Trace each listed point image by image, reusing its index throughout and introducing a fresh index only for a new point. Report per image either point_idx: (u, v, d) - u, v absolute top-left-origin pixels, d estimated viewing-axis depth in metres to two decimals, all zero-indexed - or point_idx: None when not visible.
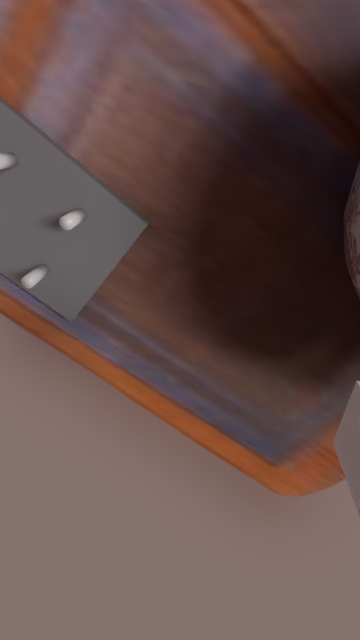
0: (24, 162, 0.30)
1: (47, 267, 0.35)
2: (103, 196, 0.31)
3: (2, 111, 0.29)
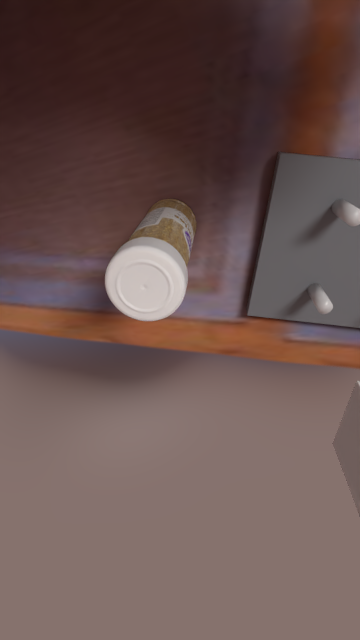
0: (354, 200, 0.27)
1: None
2: None
3: (321, 164, 0.26)
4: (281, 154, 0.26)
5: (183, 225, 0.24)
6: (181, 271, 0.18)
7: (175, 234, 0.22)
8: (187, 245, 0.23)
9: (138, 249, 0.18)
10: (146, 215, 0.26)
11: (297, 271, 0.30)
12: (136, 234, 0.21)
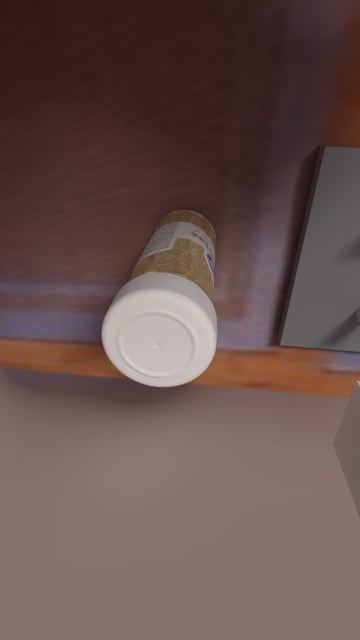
0: None
1: None
2: None
3: None
4: (326, 148, 0.20)
5: (203, 246, 0.19)
6: (210, 322, 0.13)
7: (195, 261, 0.16)
8: (211, 274, 0.17)
9: (147, 294, 0.12)
10: (155, 233, 0.21)
11: (343, 292, 0.24)
12: (143, 265, 0.16)
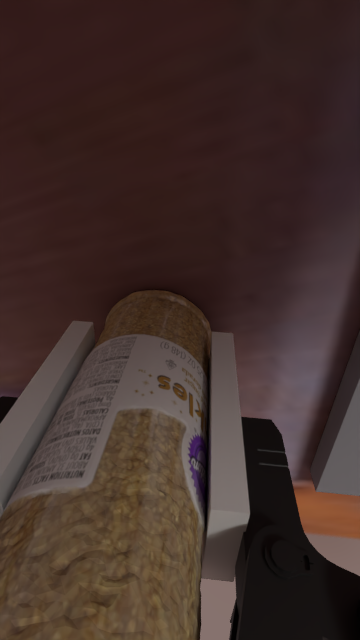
0: None
1: None
2: None
3: None
4: None
5: (183, 416, 0.08)
6: None
7: (152, 531, 0.06)
8: (198, 516, 0.07)
9: None
10: (90, 356, 0.10)
11: None
12: None
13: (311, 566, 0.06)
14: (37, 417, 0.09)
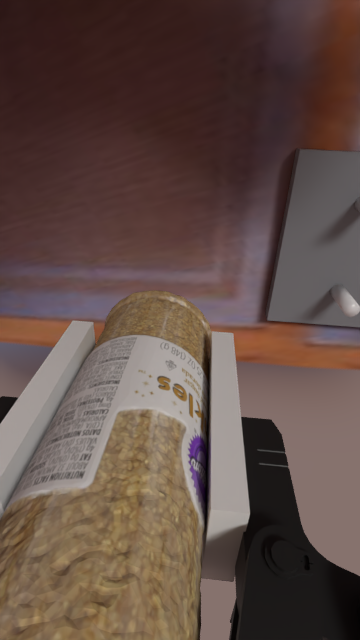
0: None
1: None
2: None
3: (343, 160, 0.25)
4: (300, 151, 0.24)
5: (183, 416, 0.08)
6: None
7: (152, 532, 0.06)
8: (198, 517, 0.07)
9: None
10: (90, 356, 0.10)
11: (319, 272, 0.29)
12: None
13: (311, 566, 0.06)
14: (37, 417, 0.09)
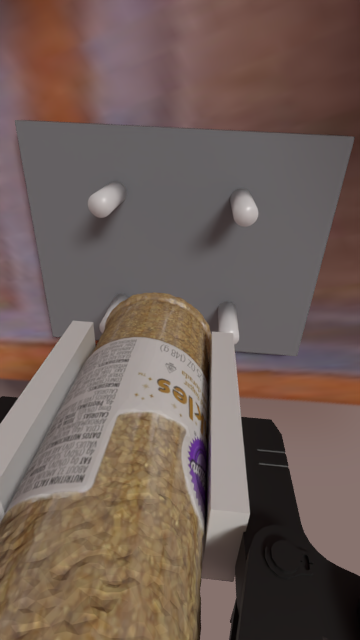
0: (133, 182, 0.20)
1: (231, 302, 0.23)
2: (262, 145, 0.18)
3: (73, 134, 0.19)
4: (16, 123, 0.19)
5: (183, 419, 0.08)
6: None
7: (152, 535, 0.06)
8: (198, 520, 0.07)
9: None
10: (90, 359, 0.10)
11: (93, 279, 0.23)
12: None
13: (311, 566, 0.06)
14: (37, 417, 0.09)
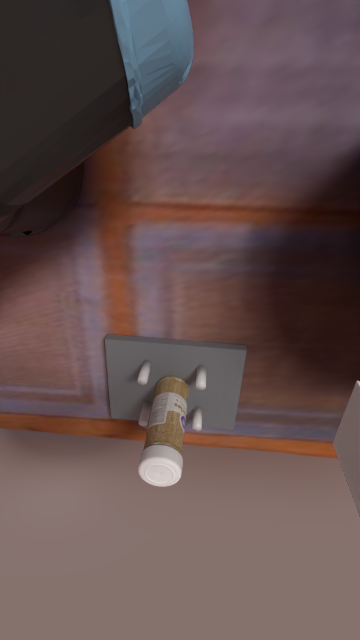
0: (154, 361, 0.45)
1: (199, 406, 0.48)
2: (209, 351, 0.43)
3: (129, 344, 0.44)
4: (105, 339, 0.44)
5: (180, 412, 0.41)
6: (179, 467, 0.35)
7: (175, 429, 0.38)
8: (182, 429, 0.39)
9: (155, 459, 0.34)
10: (157, 397, 0.43)
11: (133, 395, 0.48)
12: (153, 432, 0.38)
13: None
14: None
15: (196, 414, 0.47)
